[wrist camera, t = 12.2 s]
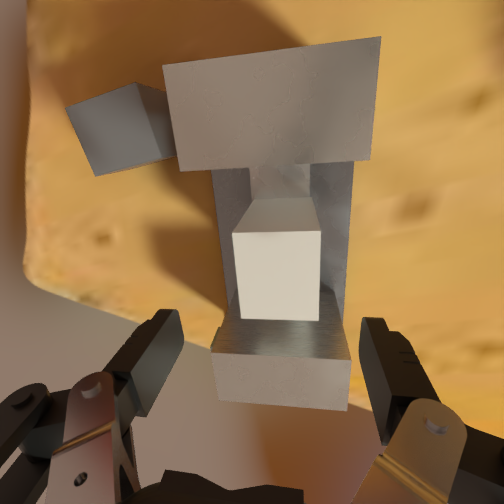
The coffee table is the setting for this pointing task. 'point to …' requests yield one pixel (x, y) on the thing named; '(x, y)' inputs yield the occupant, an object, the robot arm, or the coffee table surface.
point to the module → (278, 260)
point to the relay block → (124, 128)
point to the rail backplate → (280, 196)
